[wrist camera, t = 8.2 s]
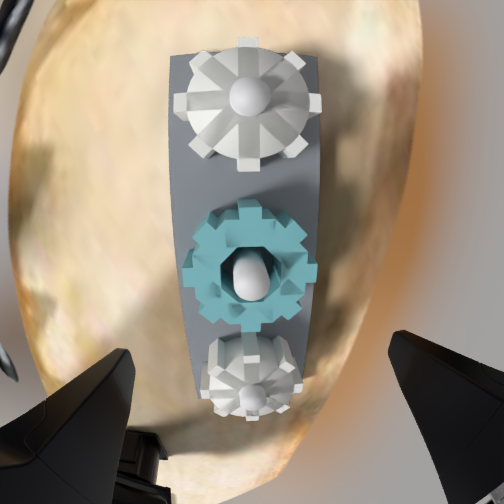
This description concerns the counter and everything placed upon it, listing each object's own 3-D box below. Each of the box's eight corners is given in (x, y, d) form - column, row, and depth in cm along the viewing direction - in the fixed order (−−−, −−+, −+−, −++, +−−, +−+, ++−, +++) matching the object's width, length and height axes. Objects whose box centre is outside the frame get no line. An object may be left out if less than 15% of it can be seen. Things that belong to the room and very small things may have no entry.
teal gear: (299, 303, 19) (310, 327, 16) (194, 308, 18) (189, 333, 15) (305, 199, 16) (321, 207, 14) (186, 201, 16) (177, 209, 13)
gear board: (296, 381, 23) (310, 426, 18) (199, 386, 23) (195, 434, 17) (310, 64, 15) (340, 33, 10) (174, 63, 14) (155, 29, 9)
